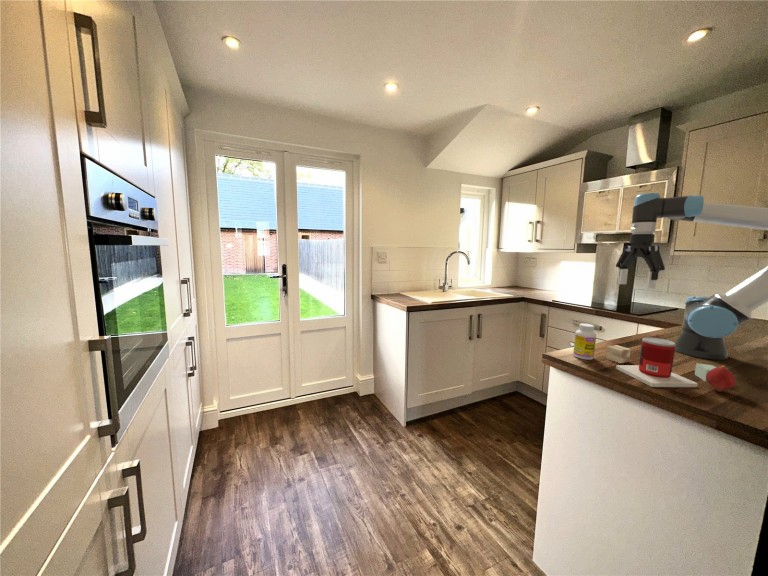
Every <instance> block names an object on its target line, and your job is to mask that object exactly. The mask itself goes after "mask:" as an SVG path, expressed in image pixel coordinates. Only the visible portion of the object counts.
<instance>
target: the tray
mask: <svg viewBox="0 0 768 576" xmlns="http://www.w3.org/2000/svg"><path fill="white" fill-rule="evenodd" d="M615 369H616V370H618V371H620V372H622V373H623V374H626V375H627V376H630V377H632V378H634V379H635V380H638V381H639V382H640V383H643V384H646V385H647V386H649V387H652V388H698V385H699V383H698V382H696V381H693V380H691V379H688V378H686V377H684V376H682V375H679V374H677V373H674V372H671V376H670V377H668V378H660V377H654V376H650V375H647V374H644V373H642V372H641V371H640V370H639V364H635V365H633V364H632V365H629V364H627V365H626V364H625V365H624V364H620V365H619V364H616V366H615Z"/></svg>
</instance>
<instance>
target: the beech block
mask: <svg viewBox="0 0 768 576" xmlns="http://www.w3.org/2000/svg"><path fill="white" fill-rule="evenodd" d="M631 351H632V349H631V348H628V347H625V346H620V345H618V344H615V345H607V346H606V354H605V359H607V360H609V361H612V362H614V361H615V363H617V362H618V363H617V364H624V363H625V362H626V363H630V360H631Z"/></svg>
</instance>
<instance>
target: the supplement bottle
mask: <svg viewBox="0 0 768 576" xmlns="http://www.w3.org/2000/svg"><path fill="white" fill-rule="evenodd" d="M594 330H595V325H594V324H590V323H579V329H577V330H576V331H575V334H574V335H575V336H574V344H573V354H572V355H573V356H574V357H576V358H578V359H581V360H586V361H587V360H590V361H591V360H593V359H594V358H595V349H596V342H597V334H596V332H594Z"/></svg>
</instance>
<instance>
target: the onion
mask: <svg viewBox="0 0 768 576" xmlns="http://www.w3.org/2000/svg"><path fill="white" fill-rule="evenodd" d="M706 380H707V382H706V383H708V384H709V386H711V387H712V388H713V389H715V390H716V391H717V392H724V391H727V390H729V389H733V388H734V387H735V385H736V384H737V379H736V377H735V376H734V375H733V373H732V372H730V371H729V370H728V369H727V368H726V366H725V365H721V366H718V367H716V368H714V369H712V370H710V371H709V372H708V373H707V374H706Z"/></svg>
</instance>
